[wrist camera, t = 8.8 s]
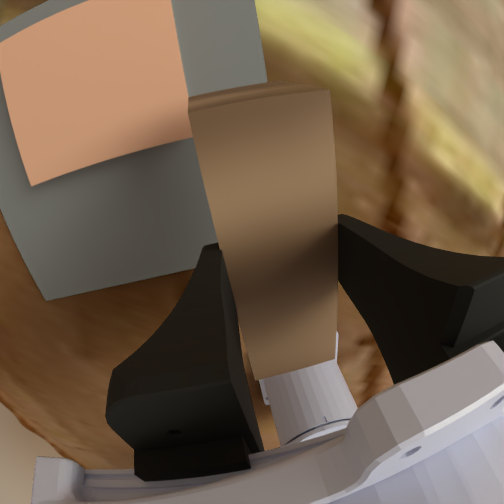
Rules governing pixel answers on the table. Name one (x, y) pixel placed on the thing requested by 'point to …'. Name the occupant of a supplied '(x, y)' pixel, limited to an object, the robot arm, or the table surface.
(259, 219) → the brown wooden block
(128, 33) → the tile
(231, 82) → the slate mat
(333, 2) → the table surface
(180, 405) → the robot arm
